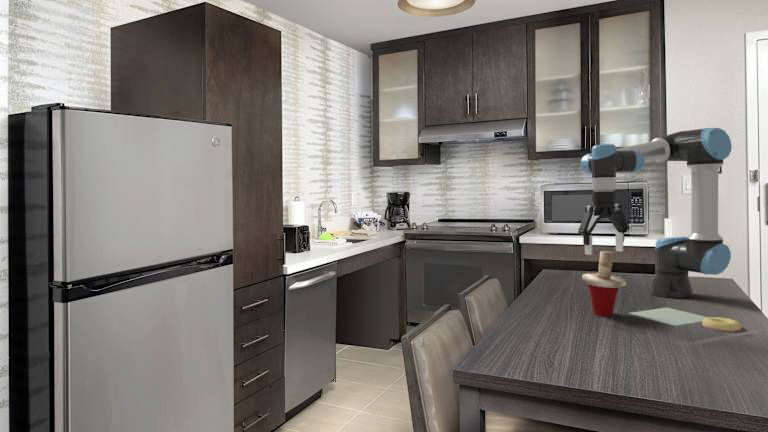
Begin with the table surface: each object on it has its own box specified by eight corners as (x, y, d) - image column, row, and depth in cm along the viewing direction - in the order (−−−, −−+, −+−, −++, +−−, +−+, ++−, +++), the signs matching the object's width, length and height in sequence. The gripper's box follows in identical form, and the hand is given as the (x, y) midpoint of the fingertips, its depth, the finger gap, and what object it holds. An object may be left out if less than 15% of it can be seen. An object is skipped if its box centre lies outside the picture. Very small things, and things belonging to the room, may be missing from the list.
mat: (666, 309, 185) (666, 307, 185) (715, 321, 168) (715, 319, 168) (628, 315, 179) (628, 313, 178) (674, 328, 162) (674, 325, 162)
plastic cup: (616, 321, 171) (616, 285, 170) (582, 317, 177) (582, 282, 177) (624, 314, 179) (624, 280, 179) (592, 310, 186) (592, 277, 185)
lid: (604, 276, 187) (606, 248, 186) (635, 285, 174) (638, 255, 173) (573, 277, 182) (575, 248, 180) (603, 287, 169) (606, 256, 168)
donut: (730, 343, 153) (745, 333, 158) (732, 329, 152) (747, 319, 157) (695, 330, 161) (710, 321, 166) (697, 317, 160) (712, 308, 165)
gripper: (623, 189, 184) (623, 248, 185) (566, 191, 175) (567, 254, 176) (640, 189, 177) (640, 251, 178) (582, 191, 168) (583, 257, 169)
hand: (604, 253), depth 177 cm, fingers open, 13 cm apart
